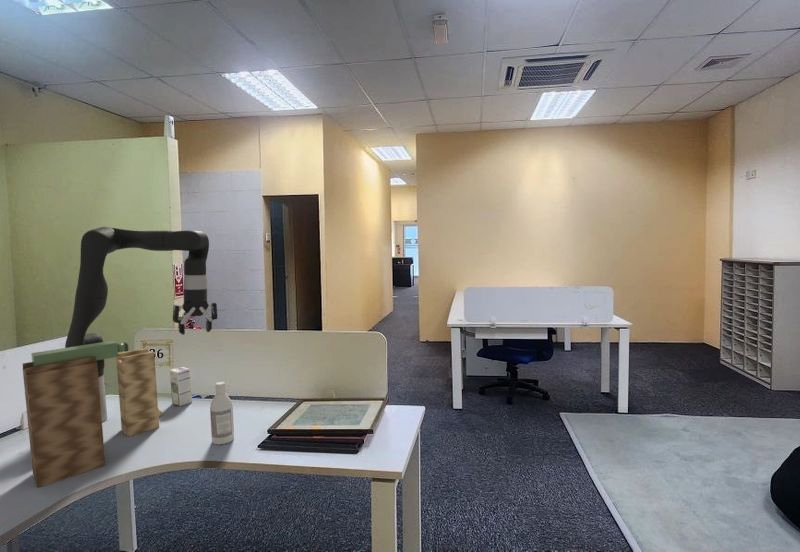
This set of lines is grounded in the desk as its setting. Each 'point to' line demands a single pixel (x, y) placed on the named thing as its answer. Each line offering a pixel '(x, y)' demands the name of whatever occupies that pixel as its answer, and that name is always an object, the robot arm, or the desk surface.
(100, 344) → the sage green plank
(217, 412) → the bath foam
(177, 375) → the syrup box
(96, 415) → the brown patterned box
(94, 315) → the robot arm
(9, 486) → the desk surface
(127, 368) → the block
